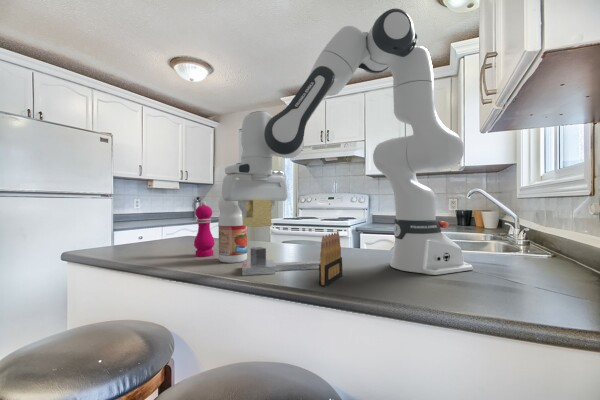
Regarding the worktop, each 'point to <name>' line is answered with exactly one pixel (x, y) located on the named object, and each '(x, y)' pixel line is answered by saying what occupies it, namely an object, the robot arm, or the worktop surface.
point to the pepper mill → (204, 231)
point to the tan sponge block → (258, 213)
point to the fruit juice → (231, 233)
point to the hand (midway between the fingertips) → (256, 216)
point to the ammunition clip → (330, 260)
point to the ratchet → (272, 264)
